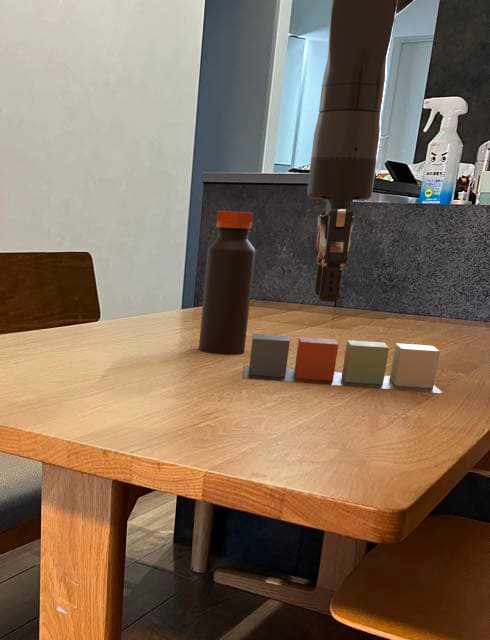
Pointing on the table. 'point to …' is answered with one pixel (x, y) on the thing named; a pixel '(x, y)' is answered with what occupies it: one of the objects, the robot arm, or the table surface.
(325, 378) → the terracotta block
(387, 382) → the light grey flat plate
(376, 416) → the table surface
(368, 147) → the robot arm
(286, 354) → the slate block
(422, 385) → the cream block
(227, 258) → the bottle
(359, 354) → the sage block
